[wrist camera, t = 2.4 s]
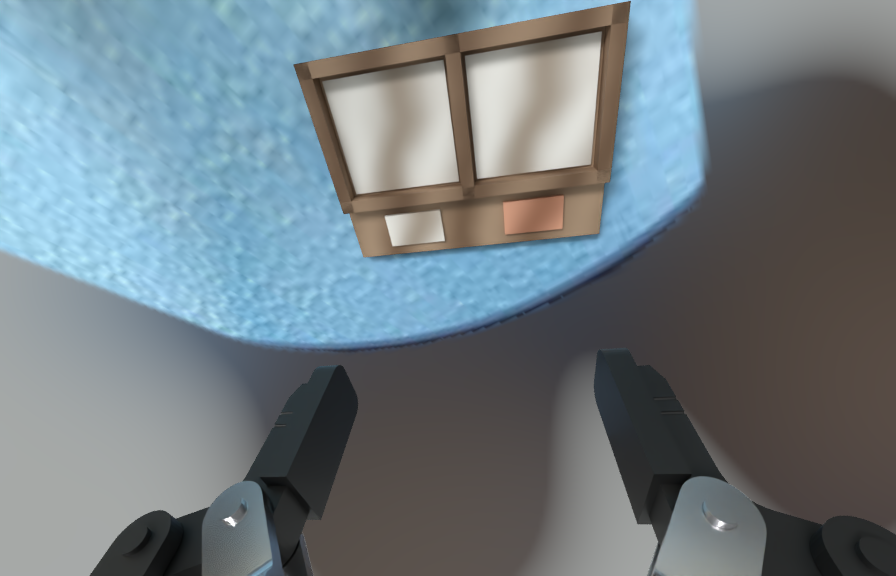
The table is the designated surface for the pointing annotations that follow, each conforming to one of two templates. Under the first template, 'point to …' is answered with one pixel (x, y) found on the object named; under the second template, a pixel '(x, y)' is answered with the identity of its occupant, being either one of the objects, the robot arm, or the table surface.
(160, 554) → the robot arm
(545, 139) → the board
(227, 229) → the table surface
